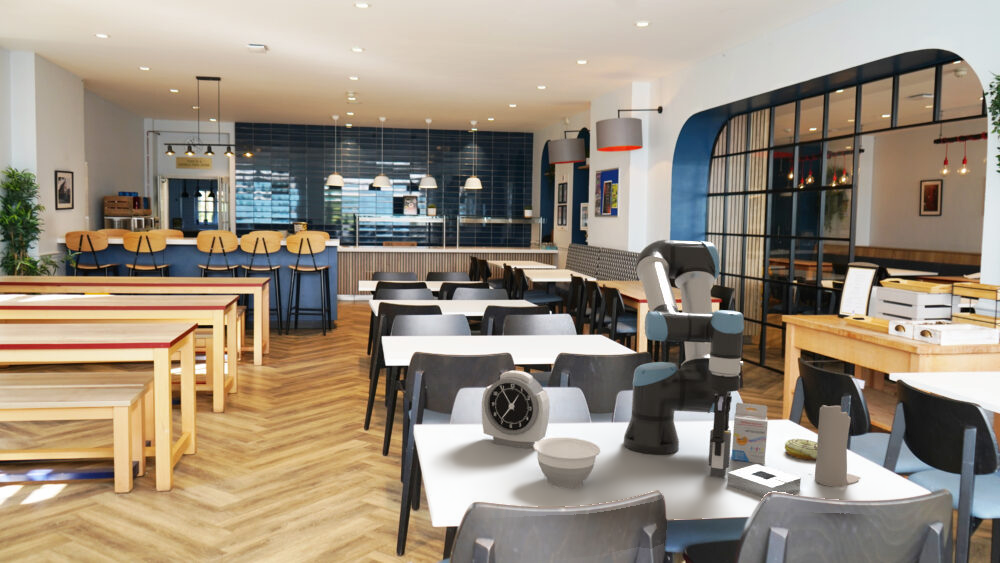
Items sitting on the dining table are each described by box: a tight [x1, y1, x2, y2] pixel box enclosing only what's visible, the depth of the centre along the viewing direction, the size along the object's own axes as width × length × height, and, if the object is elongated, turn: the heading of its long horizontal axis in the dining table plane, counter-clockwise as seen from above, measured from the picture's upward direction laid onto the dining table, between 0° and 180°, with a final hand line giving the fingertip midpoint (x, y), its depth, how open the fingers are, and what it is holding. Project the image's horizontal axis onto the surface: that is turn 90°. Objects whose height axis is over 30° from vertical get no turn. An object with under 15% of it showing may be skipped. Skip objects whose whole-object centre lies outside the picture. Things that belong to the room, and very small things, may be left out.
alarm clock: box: [481, 370, 550, 450], centre depth 211 cm, size 18×8×20 cm, turn 68°
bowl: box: [532, 437, 601, 489], centre depth 182 cm, size 16×16×8 cm
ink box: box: [731, 402, 769, 465], centre depth 205 cm, size 8×5×15 cm, turn 73°
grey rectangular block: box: [707, 429, 732, 479], centre depth 191 cm, size 5×5×11 cm
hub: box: [726, 463, 802, 498], centre depth 184 cm, size 12×12×3 cm
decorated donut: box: [784, 438, 817, 461], centre depth 211 cm, size 10×11×4 cm
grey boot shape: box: [814, 404, 861, 488], centre depth 191 cm, size 7×14×20 cm, turn 123°
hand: (718, 463), depth 192 cm, fingers open, 7 cm apart
